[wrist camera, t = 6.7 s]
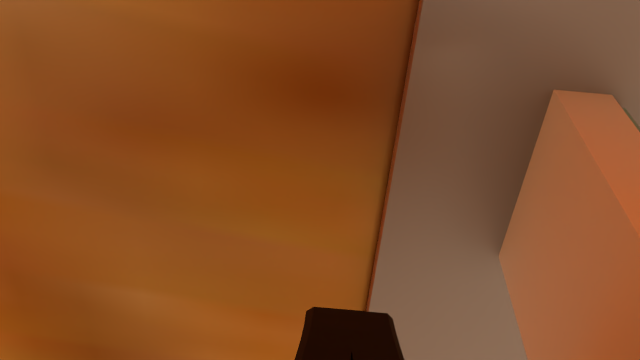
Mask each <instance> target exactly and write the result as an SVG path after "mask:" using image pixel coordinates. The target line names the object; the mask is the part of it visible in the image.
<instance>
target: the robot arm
mask: <svg viewBox="0 0 640 360" xmlns="http://www.w3.org/2000/svg"><path fill="white" fill-rule="evenodd" d="M295 360H404V357H403V354H402V351H401V348H400V344H399V341H398V337H397V334H396V330H395V326H394V321H393V318H392V317H391V316H390V315H389V314H388V313H379V312H367V311H355V310H344V309H332V308H320V307H313V308H311V309H309V310H307V311H306V317H305V324H304V328H303V332H302V337H301V340H300V344H299V347H298V351H297V354H296V357H295Z"/></svg>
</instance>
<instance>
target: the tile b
mask: <svg viewBox="0 0 640 360" xmlns="http://www.w3.org/2000/svg"><path fill="white" fill-rule="evenodd" d="M499 260H500V263H501V267H502V270H503V274H504V277H505V281H506V285H507V288H508V292H509V295H510V299H511V302H512V306H513V309H514V313H515V317H516V320H517V324H518V327H519V331H520V334H521V338H522V341H523V345H524V348H525V352H526V356H527V359H528V360H640V127H639V126H638V124H637V123H636V122H635V120H634V119H633V118H632V116H631V115H630V114H629V112H628V111H627V110H626V108H621V106H620V105H619V103H618V102H617V101H616V99H615V98H614V97H613V95H608V94H597V93H586V92H575V91H563V90H553V93H552V96H551V99H550V102H549V105H548V108H547V111H546V114H545V117H544V121H543V124H542V127H541V130H540V133H539V136H538V139H537V142H536V145H535V148H534V151H533V154H532V157H531V160H530V163H529V166H528V169H527V172H526V175H525V178H524V181H523V184H522V187H521V190H520V193H519V196H518V199H517V202H516V205H515V208H514V211H513V214H512V217H511V220H510V223H509V226H508V229H507V232H506V235H505V238H504V241H503V244H502V247H501V250H500V253H499Z"/></svg>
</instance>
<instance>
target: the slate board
mask: <svg viewBox="0 0 640 360" xmlns="http://www.w3.org/2000/svg"><path fill="white" fill-rule="evenodd" d="M553 90H563V91H575V92H586V93H597V94H608V95H613V97H614V98H615V99H616V101H617V102H618V103H619V105H620V106H621V108H626V110H627V111H628V112H629V114H630V115H631V116H632V118H633V119H634V120H635V122H636V123H637V124H638V126H639V127H640V0H419V4H418V10H417V16H416V21H415V27H414V33H413V39H412V45H411V50H410V56H409V62H408V68H407V74H406V80H405V85H404V91H403V97H402V103H401V109H400V115H399V120H398V126H397V132H396V138H395V144H394V150H393V155H392V161H391V167H390V173H389V179H388V185H387V190H386V196H385V202H384V208H383V214H382V220H381V225H380V231H379V237H378V243H377V249H376V255H375V260H374V266H373V272H372V278H371V284H370V290H369V295H368V301H367V307H366V311H367V312H379V313H388V314H389V315H390V316H391V317H392V318H393V321H394V326H395V330H396V334H397V337H398V341H399V344H400V348H401V351H402V354H403V357H404V360H528V359H527V356H526V352H525V348H524V345H523V341H522V338H521V334H520V331H519V327H518V324H517V320H516V317H515V313H514V309H513V306H512V302H511V299H510V295H509V292H508V288H507V285H506V281H505V277H504V274H503V270H502V267H501V263H500V260H499V253H500V250H501V247H502V244H503V241H504V238H505V235H506V232H507V229H508V226H509V223H510V220H511V217H512V214H513V211H514V208H515V205H516V202H517V199H518V196H519V193H520V190H521V187H522V184H523V181H524V178H525V175H526V172H527V169H528V166H529V163H530V160H531V157H532V154H533V151H534V148H535V145H536V142H537V139H538V136H539V133H540V130H541V127H542V124H543V121H544V117H545V114H546V111H547V108H548V105H549V102H550V99H551V96H552V93H553Z"/></svg>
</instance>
